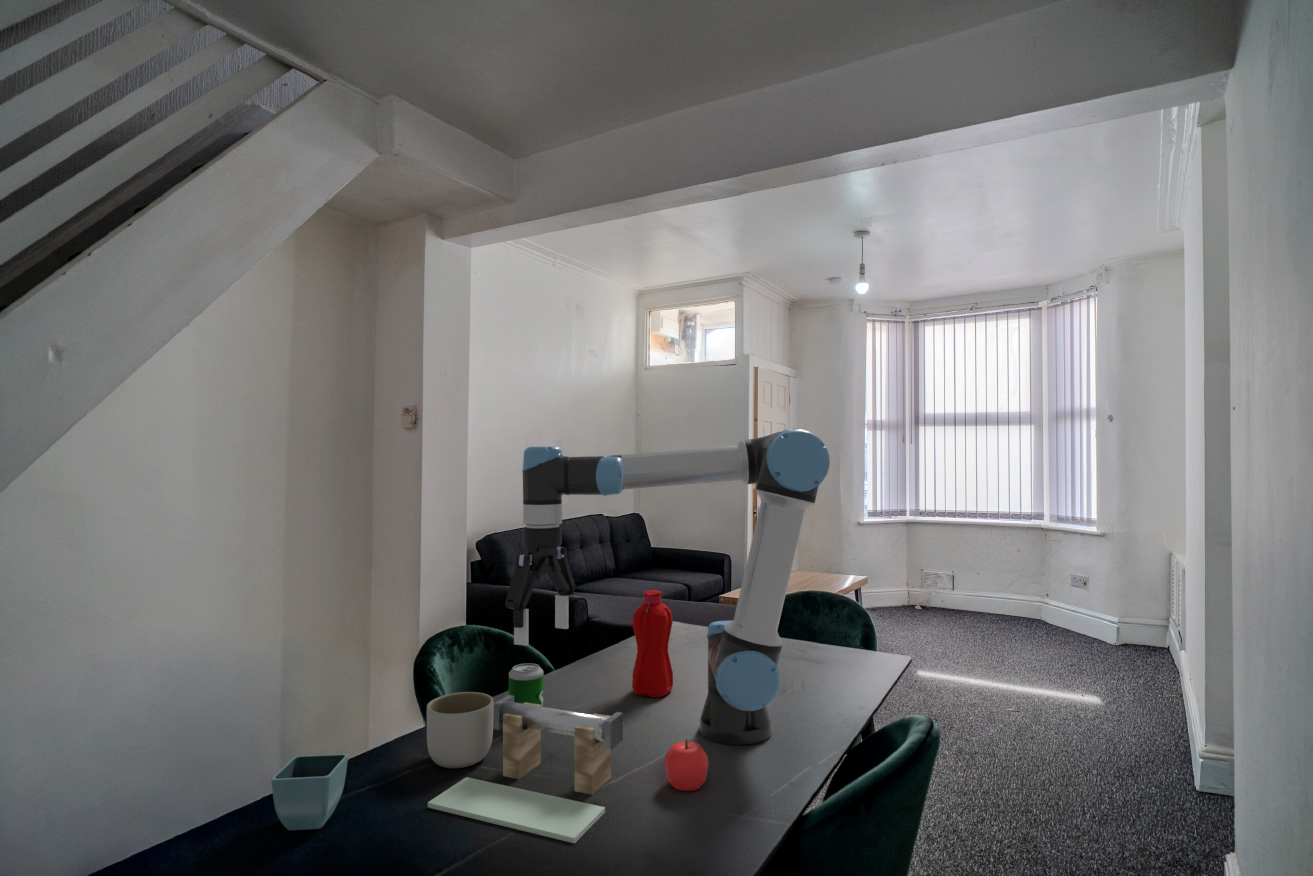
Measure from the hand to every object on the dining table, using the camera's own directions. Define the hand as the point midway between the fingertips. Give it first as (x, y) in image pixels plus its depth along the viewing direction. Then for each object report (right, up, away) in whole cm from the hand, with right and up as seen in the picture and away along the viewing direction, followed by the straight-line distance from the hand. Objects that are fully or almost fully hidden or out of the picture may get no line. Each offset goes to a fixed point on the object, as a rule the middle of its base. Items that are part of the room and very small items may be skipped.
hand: (542, 636), depth 134 cm
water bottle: (+21, -25, +37) cm, 49 cm away
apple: (+27, -24, -11) cm, 38 cm away
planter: (-16, -24, 0) cm, 29 cm away
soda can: (-7, -25, +19) cm, 31 cm away
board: (-1, -23, -20) cm, 30 cm away
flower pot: (-33, -23, -23) cm, 47 cm away
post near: (+11, -23, -11) cm, 28 cm away
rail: (+4, -15, -7) cm, 18 cm away
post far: (-3, -24, -5) cm, 24 cm away
